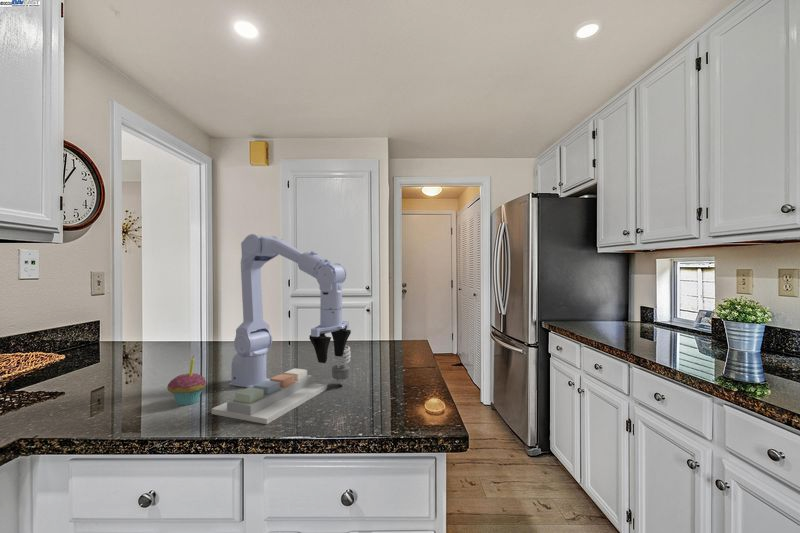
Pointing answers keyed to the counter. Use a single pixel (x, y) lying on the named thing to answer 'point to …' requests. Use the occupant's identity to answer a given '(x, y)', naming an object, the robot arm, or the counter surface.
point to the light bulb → (341, 366)
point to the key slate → (268, 386)
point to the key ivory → (297, 374)
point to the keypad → (272, 402)
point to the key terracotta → (283, 380)
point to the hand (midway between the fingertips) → (330, 359)
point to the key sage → (249, 395)
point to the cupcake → (187, 387)
